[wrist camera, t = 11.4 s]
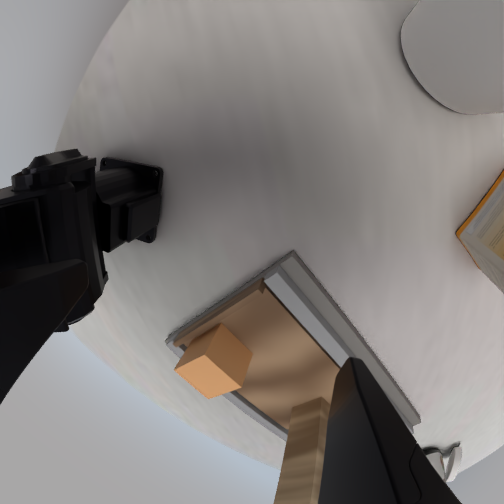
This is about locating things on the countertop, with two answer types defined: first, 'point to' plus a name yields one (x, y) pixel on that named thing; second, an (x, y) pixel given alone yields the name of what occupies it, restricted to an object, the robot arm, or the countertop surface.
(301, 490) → the tan l-shaped piece
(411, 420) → the track
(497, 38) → the alcohol
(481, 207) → the supplement box
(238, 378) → the cube
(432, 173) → the countertop surface
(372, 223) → the countertop surface
